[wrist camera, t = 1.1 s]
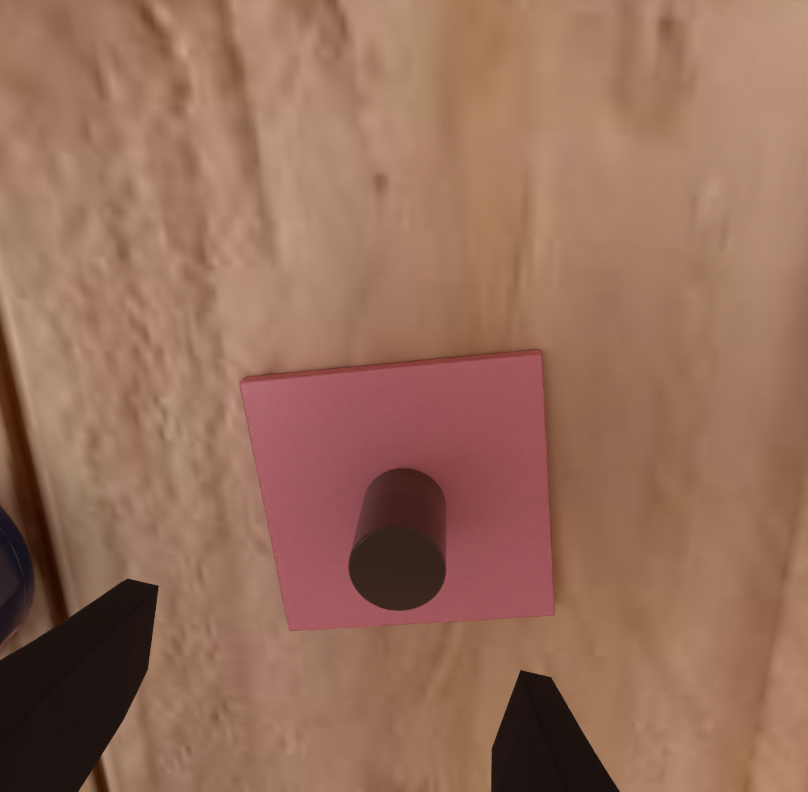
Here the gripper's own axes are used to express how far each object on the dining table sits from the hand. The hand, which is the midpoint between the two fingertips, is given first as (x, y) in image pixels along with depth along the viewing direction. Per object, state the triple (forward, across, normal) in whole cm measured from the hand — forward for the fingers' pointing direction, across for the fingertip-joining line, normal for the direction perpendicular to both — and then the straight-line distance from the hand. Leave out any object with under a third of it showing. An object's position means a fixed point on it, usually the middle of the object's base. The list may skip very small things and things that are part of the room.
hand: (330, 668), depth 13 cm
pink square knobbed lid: (+9, -1, +1) cm, 9 cm away
